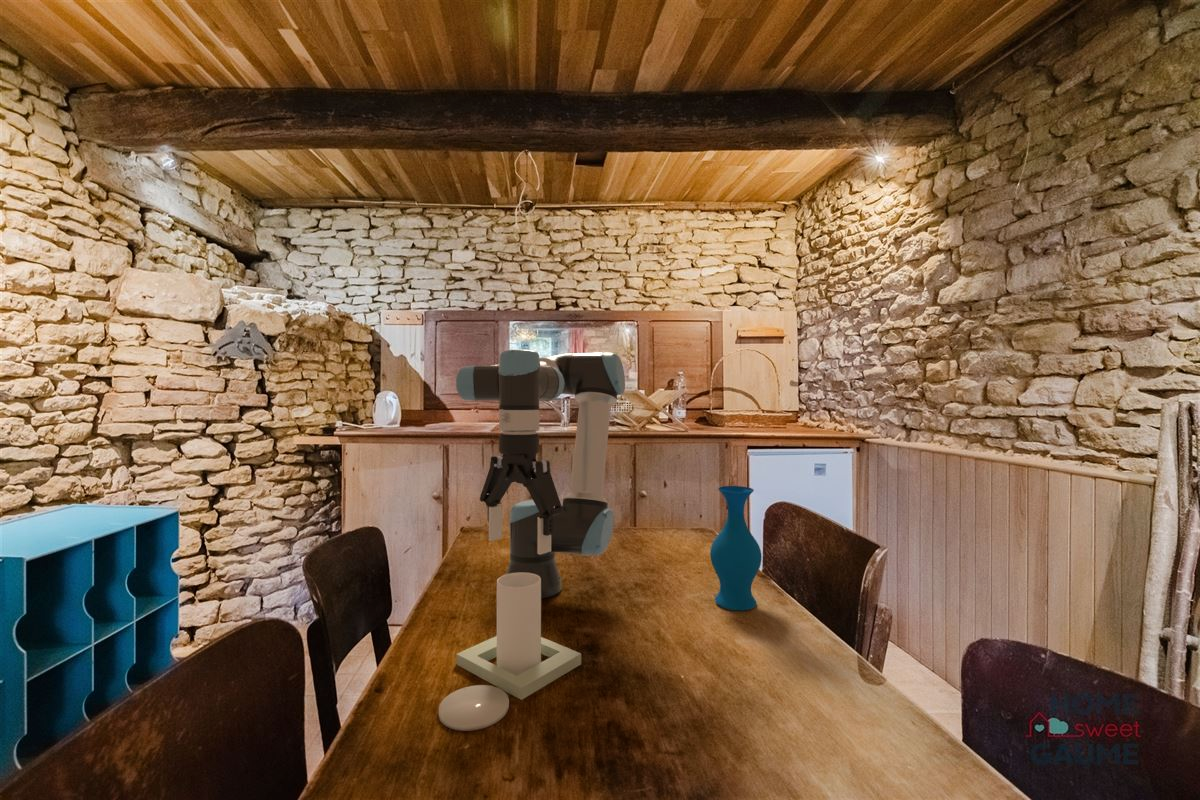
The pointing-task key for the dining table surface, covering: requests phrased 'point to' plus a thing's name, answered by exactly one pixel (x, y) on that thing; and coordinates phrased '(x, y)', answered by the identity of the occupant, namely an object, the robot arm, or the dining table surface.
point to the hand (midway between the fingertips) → (518, 546)
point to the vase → (735, 554)
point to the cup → (518, 622)
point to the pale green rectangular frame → (527, 680)
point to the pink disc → (473, 707)
